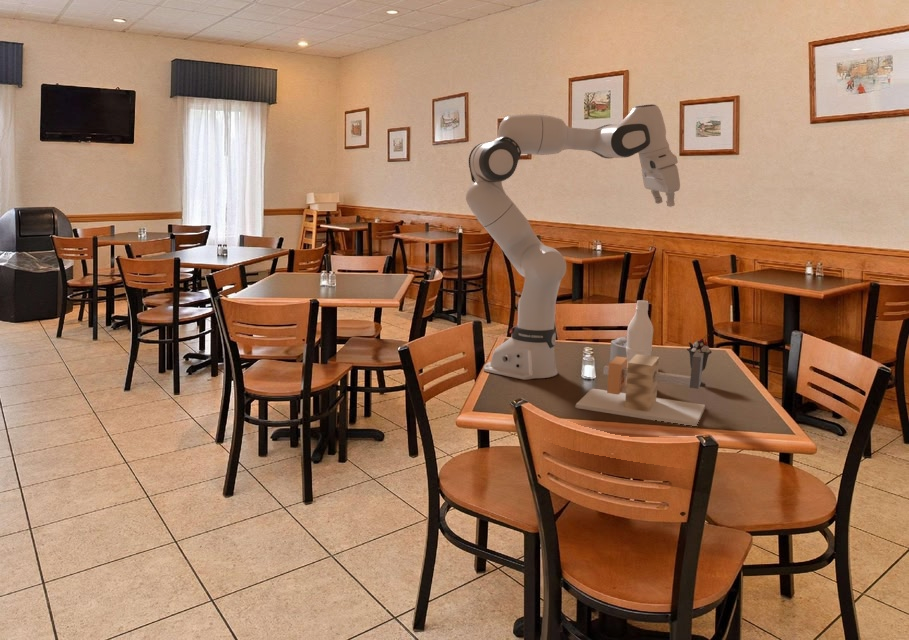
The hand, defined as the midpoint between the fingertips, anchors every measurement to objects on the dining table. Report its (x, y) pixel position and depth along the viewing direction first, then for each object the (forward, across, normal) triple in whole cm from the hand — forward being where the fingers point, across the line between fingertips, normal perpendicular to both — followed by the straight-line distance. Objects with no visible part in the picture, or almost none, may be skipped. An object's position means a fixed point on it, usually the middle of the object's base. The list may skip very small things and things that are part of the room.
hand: (665, 204), depth 213 cm
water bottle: (+44, +22, -27) cm, 56 cm away
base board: (+41, +41, -32) cm, 66 cm away
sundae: (+50, +20, -9) cm, 54 cm away
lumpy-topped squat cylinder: (+47, -1, -22) cm, 52 cm away
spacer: (+36, +37, -36) cm, 63 cm away
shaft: (+34, +41, -28) cm, 60 cm away
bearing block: (+40, +41, -31) cm, 65 cm away
